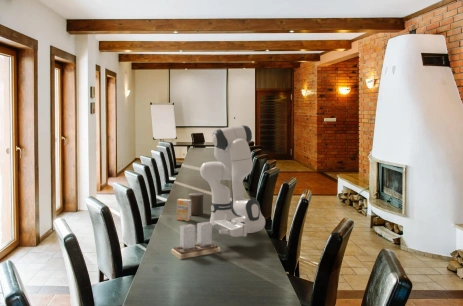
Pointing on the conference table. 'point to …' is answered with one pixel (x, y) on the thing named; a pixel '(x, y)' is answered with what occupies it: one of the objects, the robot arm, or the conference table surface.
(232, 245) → the conference table surface
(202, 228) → the aluminium billet
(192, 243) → the billet
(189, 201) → the supplement box
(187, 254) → the wooden compartment tray
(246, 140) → the robot arm
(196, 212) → the pillar candle
